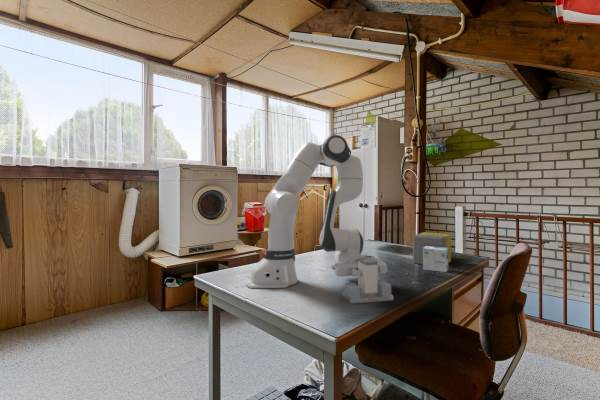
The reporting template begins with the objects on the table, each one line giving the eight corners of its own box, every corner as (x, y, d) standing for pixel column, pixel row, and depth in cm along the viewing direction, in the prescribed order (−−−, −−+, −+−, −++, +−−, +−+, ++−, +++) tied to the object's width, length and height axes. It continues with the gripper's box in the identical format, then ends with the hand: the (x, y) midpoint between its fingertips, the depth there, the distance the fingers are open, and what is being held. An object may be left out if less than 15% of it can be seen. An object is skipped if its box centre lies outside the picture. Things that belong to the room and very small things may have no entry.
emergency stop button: (455, 259, 172) (456, 232, 171) (442, 268, 154) (442, 237, 153) (428, 255, 182) (428, 230, 181) (412, 263, 163) (412, 235, 163)
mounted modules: (350, 298, 109) (350, 288, 109) (344, 292, 115) (344, 283, 114) (391, 294, 112) (391, 285, 112) (383, 289, 118) (383, 280, 117)
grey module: (365, 293, 109) (365, 262, 109) (357, 287, 116) (357, 258, 116) (377, 292, 110) (377, 261, 110) (369, 286, 117) (369, 257, 117)
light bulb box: (448, 269, 151) (448, 247, 151) (446, 272, 145) (446, 249, 145) (425, 266, 157) (425, 245, 156) (422, 269, 151) (422, 247, 151)
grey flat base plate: (351, 303, 107) (351, 299, 107) (342, 295, 116) (342, 291, 116) (393, 300, 111) (393, 295, 111) (382, 292, 119) (382, 288, 119)
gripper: (329, 258, 123) (341, 267, 110) (377, 255, 127) (394, 263, 114) (329, 274, 124) (341, 284, 110) (377, 270, 128) (394, 280, 114)
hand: (368, 274), depth 112 cm, fingers closed on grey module, 4 cm apart
